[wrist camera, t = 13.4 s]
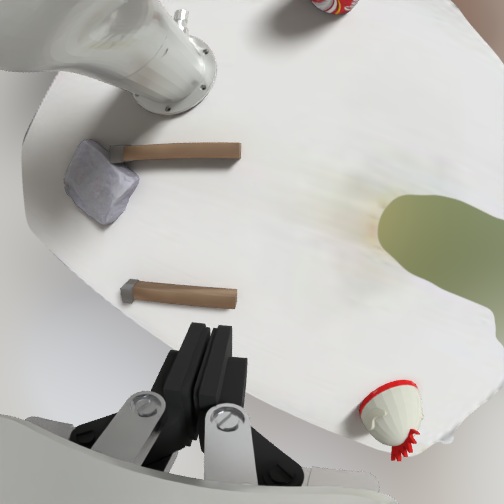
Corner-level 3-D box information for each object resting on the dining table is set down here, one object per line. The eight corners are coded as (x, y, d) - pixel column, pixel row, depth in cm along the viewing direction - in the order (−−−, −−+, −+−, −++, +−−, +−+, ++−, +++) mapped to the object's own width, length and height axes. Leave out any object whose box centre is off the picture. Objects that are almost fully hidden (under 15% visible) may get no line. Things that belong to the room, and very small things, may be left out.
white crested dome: (347, 418, 52) (359, 472, 38) (383, 375, 48) (406, 432, 33) (393, 423, 53) (409, 470, 39) (428, 383, 48) (454, 432, 34)
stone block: (121, 223, 43) (146, 174, 38) (104, 235, 39) (127, 182, 34) (76, 183, 41) (94, 133, 37) (56, 191, 37) (73, 137, 32)
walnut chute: (122, 146, 37) (109, 146, 33) (241, 142, 36) (238, 140, 33) (131, 292, 44) (122, 302, 41) (236, 302, 44) (234, 314, 40)
